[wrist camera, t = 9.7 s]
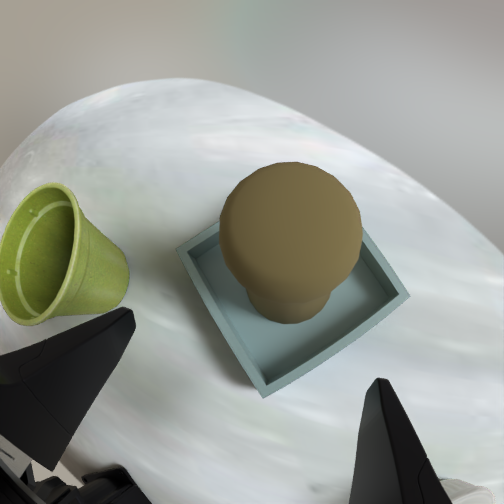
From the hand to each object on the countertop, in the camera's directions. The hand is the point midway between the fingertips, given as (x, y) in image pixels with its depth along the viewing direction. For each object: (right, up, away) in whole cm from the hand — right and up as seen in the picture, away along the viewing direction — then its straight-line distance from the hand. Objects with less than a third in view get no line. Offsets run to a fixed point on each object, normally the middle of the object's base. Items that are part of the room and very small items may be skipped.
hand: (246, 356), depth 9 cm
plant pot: (-13, +1, +13) cm, 18 cm away
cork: (+3, +1, +10) cm, 11 cm away
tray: (+3, +1, +11) cm, 11 cm away
